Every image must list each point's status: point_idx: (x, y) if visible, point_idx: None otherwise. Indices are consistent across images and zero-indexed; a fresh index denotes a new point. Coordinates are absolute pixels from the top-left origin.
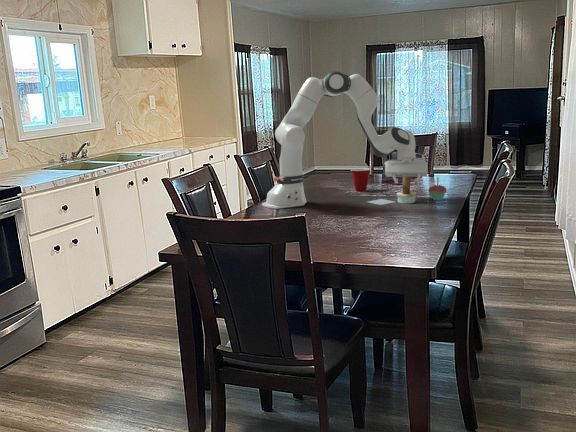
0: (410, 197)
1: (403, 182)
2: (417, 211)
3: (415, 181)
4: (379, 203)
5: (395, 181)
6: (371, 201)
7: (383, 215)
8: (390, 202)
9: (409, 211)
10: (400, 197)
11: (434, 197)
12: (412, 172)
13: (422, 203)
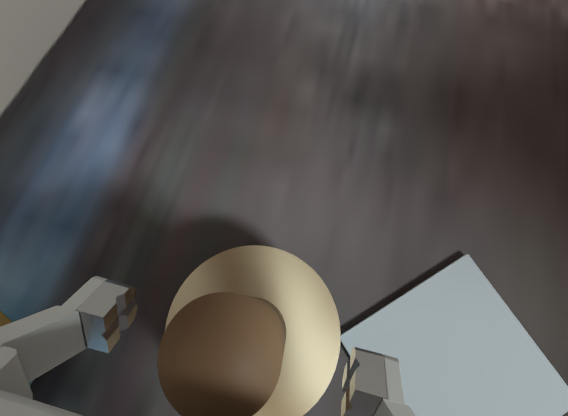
0: None
1: (279, 323)
2: (268, 58)
3: (127, 285)
4: (472, 304)
5: (388, 356)
6: (535, 405)
7: (465, 15)
8: (384, 320)
9: (310, 66)
10: None
11: None
12: (57, 410)
13: (164, 255)
